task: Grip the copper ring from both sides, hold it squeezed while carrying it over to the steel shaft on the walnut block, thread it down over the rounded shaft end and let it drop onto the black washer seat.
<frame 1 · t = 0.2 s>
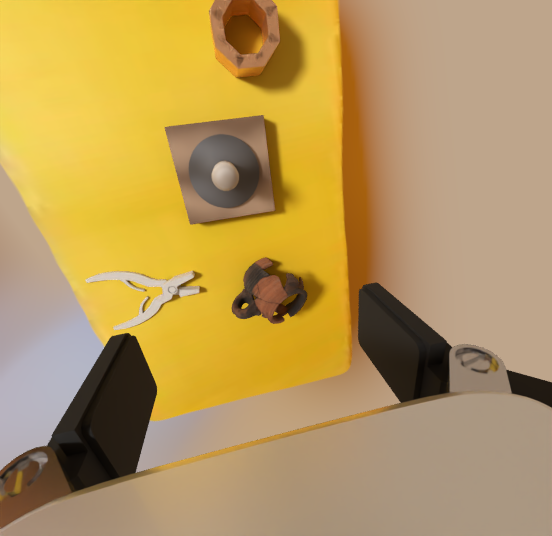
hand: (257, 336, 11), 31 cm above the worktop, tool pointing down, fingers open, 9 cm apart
pliers: (151, 290, 42), on the worktop
shaft block: (224, 171, 37), on the worktop
ring: (243, 40, 31), on the worktop
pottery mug: (264, 285, 45), on the worktop
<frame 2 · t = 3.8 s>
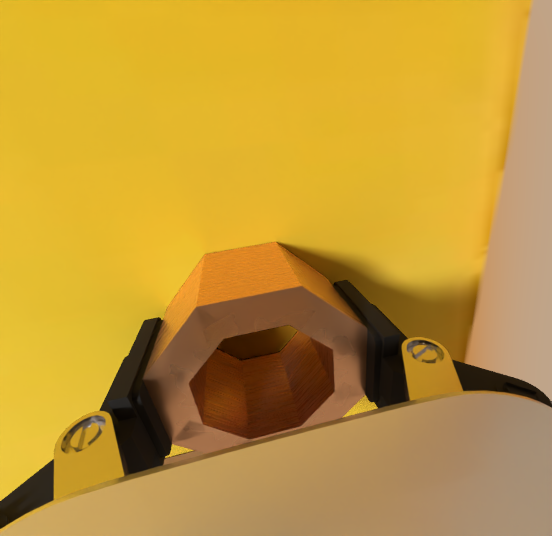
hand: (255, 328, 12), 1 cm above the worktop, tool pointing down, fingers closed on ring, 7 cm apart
ring: (253, 318, 12), on the worktop, touching gripper
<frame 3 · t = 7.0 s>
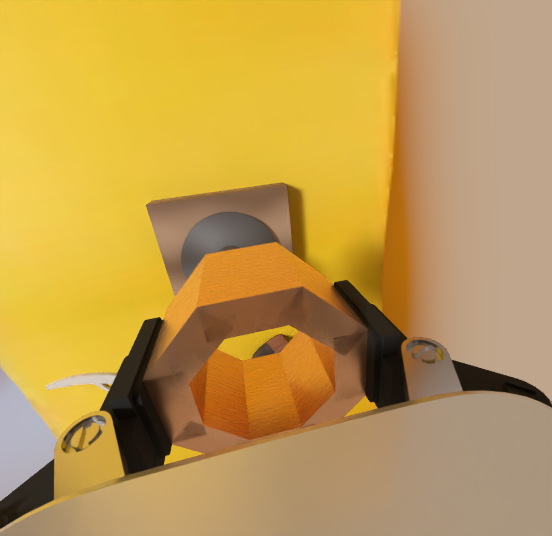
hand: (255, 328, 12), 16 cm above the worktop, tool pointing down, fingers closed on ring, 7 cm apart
pliers: (134, 389, 33), on the worktop
shaft block: (230, 251, 27), on the worktop
ring: (254, 318, 12), point 16 cm above the worktop, touching gripper
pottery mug: (278, 364, 35), on the worktop
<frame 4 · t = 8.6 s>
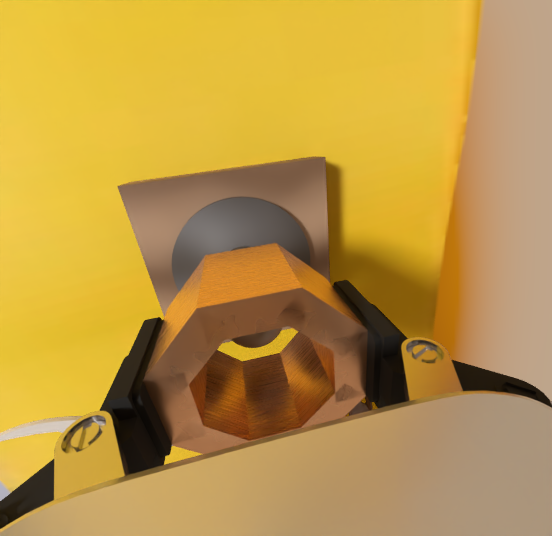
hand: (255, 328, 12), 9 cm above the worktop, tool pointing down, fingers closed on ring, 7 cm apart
pliers: (117, 434, 25), on the worktop
shaft block: (241, 254, 20), on the worktop
ring: (254, 319, 12), point 8 cm above the worktop, touching gripper
when the fingers open (5 cm above the worktop, at t = 10.2 s): ring drops 1 cm, resting on shaft block.
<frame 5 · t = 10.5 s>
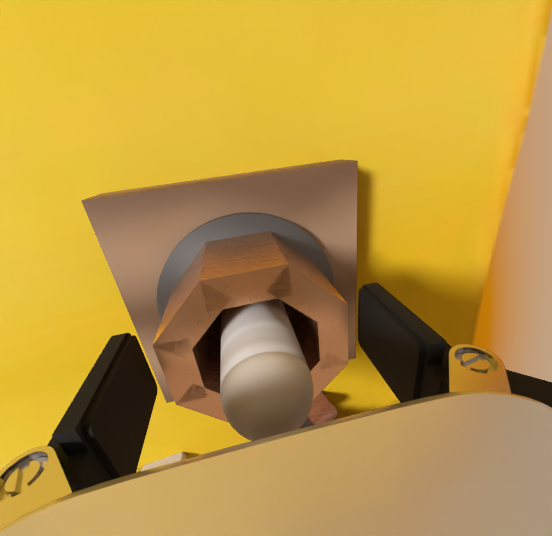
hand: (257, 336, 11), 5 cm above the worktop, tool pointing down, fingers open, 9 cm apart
shaft block: (246, 280, 16), on the worktop
ring: (250, 301, 14), point 2 cm above the worktop, touching shaft block
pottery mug: (314, 430, 23), on the worktop
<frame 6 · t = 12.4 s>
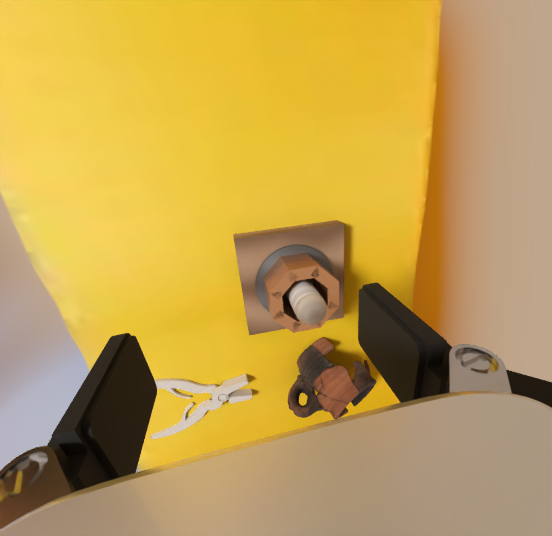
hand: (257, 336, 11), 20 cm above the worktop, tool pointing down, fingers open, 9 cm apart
pliers: (196, 394, 37), on the worktop
shaft block: (290, 275, 32), on the worktop
ring: (295, 283, 30), point 2 cm above the worktop, touching shaft block
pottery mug: (319, 365, 39), on the worktop
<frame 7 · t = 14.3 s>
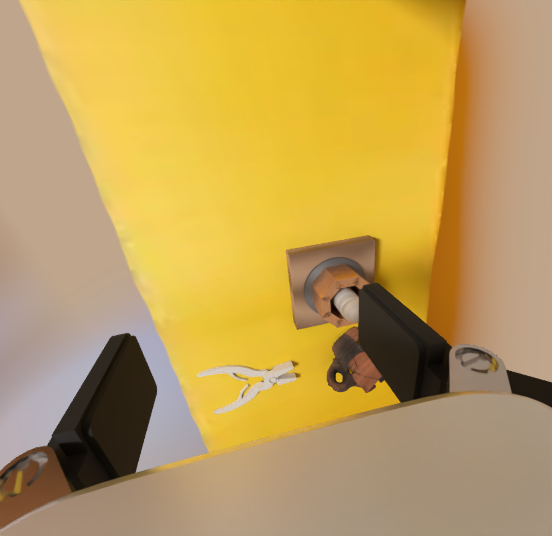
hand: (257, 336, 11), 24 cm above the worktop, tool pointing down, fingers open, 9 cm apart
pliers: (250, 378, 45), on the worktop
shaft block: (329, 280, 39), on the worktop
ring: (335, 288, 37), point 2 cm above the worktop, touching shaft block
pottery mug: (350, 350, 46), on the worktop
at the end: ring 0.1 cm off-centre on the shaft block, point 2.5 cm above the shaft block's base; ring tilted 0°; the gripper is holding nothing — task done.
